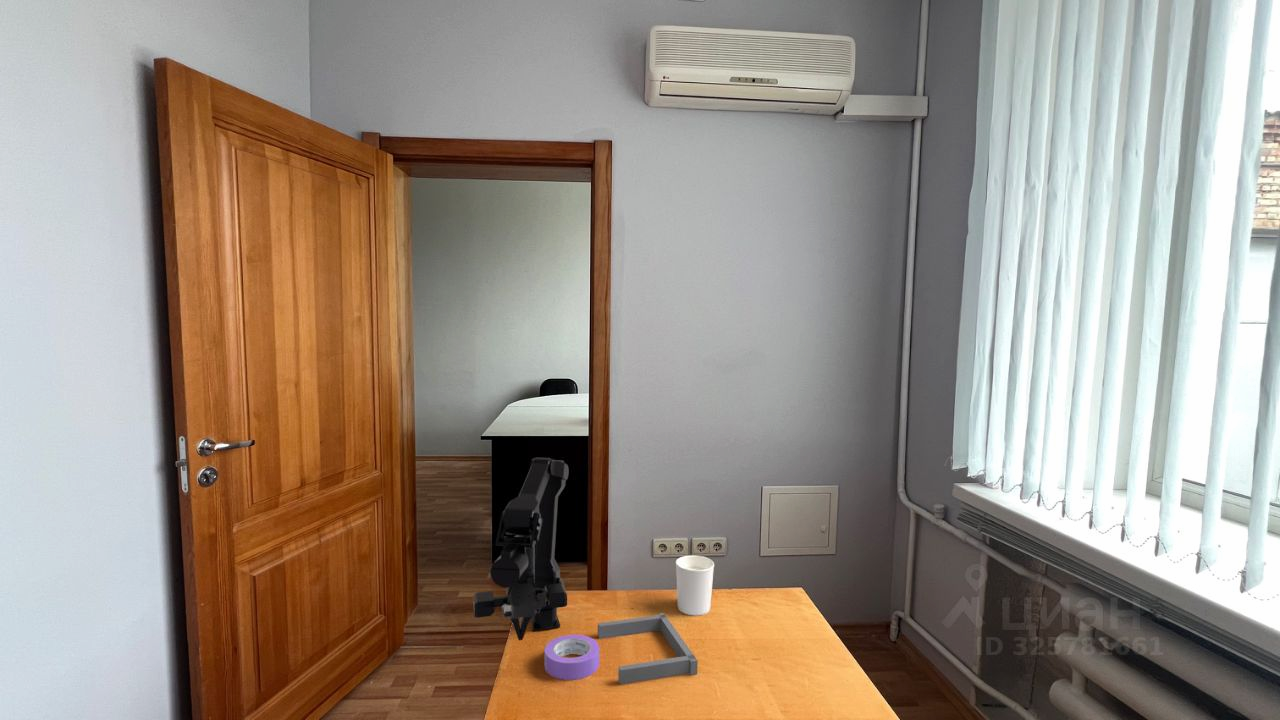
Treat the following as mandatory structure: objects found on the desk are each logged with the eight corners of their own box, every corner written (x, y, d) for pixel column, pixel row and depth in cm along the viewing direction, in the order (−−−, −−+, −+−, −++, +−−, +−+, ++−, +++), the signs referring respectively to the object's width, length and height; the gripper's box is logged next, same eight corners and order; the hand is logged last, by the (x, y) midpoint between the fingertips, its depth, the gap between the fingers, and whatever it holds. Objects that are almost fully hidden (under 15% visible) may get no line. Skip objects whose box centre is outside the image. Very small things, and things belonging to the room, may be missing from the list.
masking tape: (536, 658, 134) (536, 641, 134) (585, 645, 140) (585, 629, 140) (556, 687, 124) (556, 668, 124) (608, 671, 130) (608, 654, 129)
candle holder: (711, 619, 153) (712, 572, 152) (672, 614, 154) (673, 568, 154) (714, 601, 162) (715, 557, 161) (677, 597, 164) (678, 553, 163)
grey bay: (597, 634, 144) (597, 621, 144) (663, 624, 149) (663, 613, 149) (621, 686, 124) (621, 672, 124) (697, 674, 129) (697, 660, 129)
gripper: (475, 588, 117) (475, 667, 118) (572, 577, 122) (571, 653, 123) (473, 565, 127) (473, 638, 128) (562, 556, 133) (562, 626, 134)
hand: (520, 639), depth 128 cm, fingers closed
